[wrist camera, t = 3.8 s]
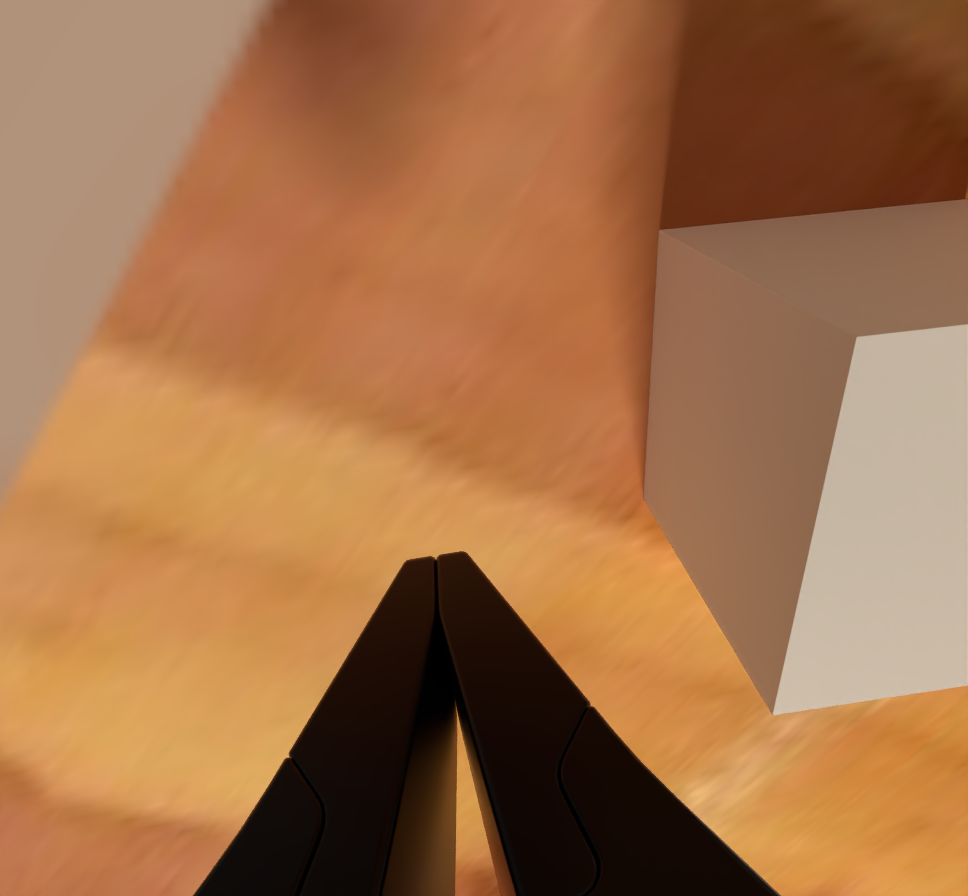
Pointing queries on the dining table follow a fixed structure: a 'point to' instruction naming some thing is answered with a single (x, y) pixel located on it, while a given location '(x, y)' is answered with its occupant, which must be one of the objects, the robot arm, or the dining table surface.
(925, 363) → the plain white cube
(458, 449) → the dining table surface
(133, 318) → the dining table surface
